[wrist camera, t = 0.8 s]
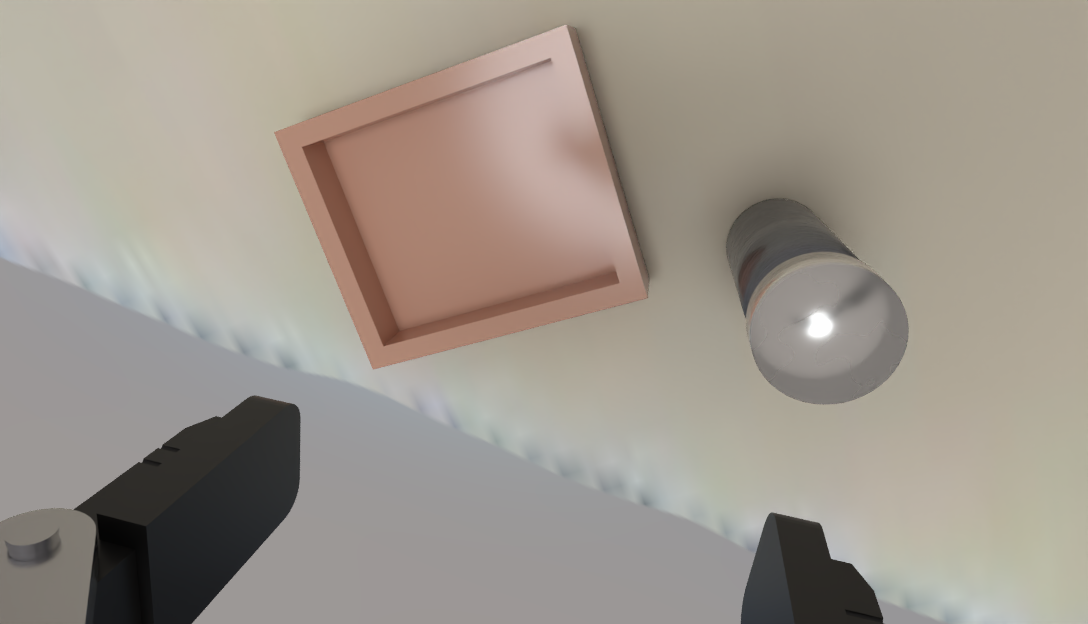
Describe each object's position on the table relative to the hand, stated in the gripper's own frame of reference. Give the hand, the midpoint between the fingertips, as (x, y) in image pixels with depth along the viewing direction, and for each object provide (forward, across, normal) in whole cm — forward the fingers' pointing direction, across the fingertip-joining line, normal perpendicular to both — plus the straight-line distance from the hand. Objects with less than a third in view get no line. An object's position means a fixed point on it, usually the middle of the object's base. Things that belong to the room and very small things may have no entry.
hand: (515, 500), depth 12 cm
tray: (+24, +7, +1) cm, 25 cm away
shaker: (+24, -7, 0) cm, 25 cm away
